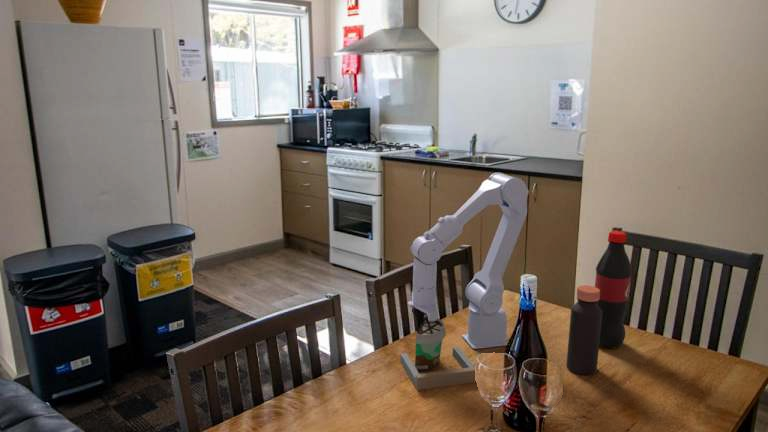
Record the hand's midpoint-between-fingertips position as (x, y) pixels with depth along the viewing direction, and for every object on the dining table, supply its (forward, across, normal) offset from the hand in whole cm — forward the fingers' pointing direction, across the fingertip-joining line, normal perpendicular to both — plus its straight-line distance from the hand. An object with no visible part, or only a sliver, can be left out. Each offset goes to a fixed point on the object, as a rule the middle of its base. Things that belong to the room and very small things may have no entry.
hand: (422, 336), depth 140 cm
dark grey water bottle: (+3, +19, +33) cm, 38 cm away
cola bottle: (+3, +8, +47) cm, 48 cm away
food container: (+4, +8, 0) cm, 8 cm away
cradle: (+4, +11, 0) cm, 11 cm away
